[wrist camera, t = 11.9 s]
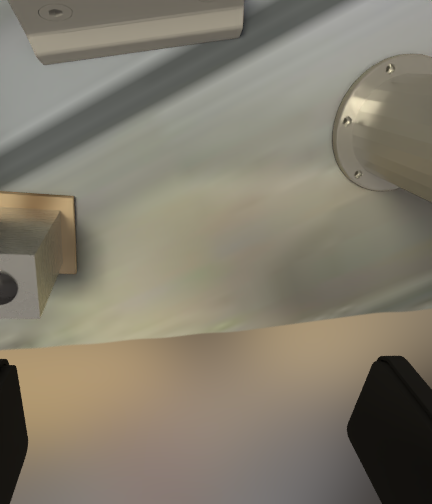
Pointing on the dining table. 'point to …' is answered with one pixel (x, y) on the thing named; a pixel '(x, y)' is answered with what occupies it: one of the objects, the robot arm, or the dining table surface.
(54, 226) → the metal cube with knob
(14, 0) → the hinge
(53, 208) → the coaster pad
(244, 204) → the dining table surface
